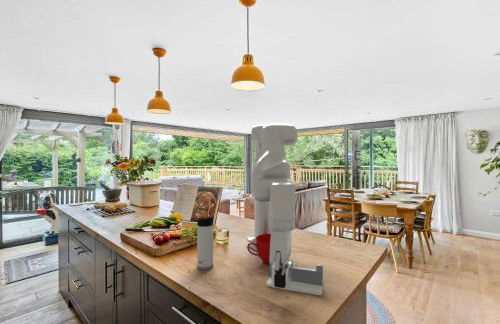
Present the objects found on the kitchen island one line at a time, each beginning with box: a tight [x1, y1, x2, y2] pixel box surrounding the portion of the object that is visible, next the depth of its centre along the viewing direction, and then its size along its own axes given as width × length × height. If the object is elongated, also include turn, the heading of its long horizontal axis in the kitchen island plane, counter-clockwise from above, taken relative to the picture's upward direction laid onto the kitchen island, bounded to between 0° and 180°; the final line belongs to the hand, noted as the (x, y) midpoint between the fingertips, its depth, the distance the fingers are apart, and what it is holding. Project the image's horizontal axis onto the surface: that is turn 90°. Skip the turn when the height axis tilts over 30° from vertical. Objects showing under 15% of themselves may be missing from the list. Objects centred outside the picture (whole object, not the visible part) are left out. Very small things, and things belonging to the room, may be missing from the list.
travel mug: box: [196, 216, 214, 271], centre depth 100 cm, size 6×7×20 cm
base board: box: [265, 277, 324, 296], centre depth 87 cm, size 18×10×1 cm, turn 71°
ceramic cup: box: [246, 234, 271, 266], centre depth 104 cm, size 13×17×10 cm
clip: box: [271, 261, 292, 291], centre depth 77 cm, size 5×5×6 cm
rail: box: [269, 259, 324, 287], centre depth 87 cm, size 18×1×6 cm, turn 71°
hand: (281, 281), depth 77 cm, fingers closed on clip, 5 cm apart
